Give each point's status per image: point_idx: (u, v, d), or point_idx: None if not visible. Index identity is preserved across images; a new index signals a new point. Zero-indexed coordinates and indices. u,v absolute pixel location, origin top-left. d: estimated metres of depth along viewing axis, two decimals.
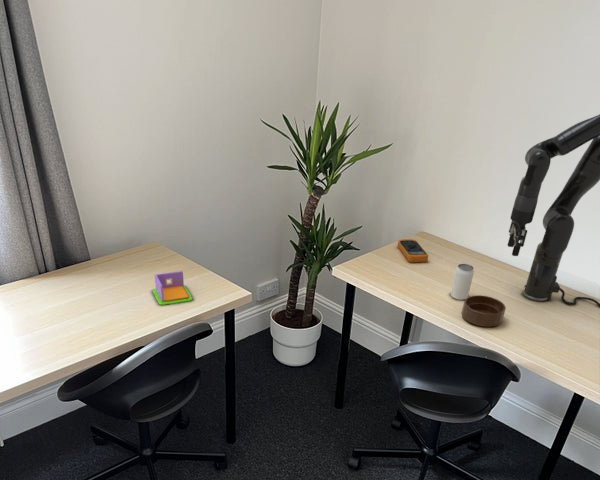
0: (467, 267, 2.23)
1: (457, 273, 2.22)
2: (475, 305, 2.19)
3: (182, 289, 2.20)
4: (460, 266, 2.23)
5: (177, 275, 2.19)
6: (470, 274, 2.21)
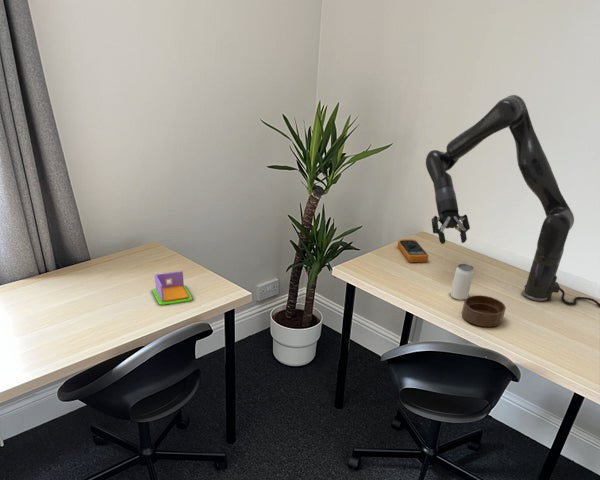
0: (467, 267, 2.23)
1: (457, 273, 2.22)
2: (475, 305, 2.19)
3: (182, 289, 2.20)
4: (460, 266, 2.23)
5: (177, 275, 2.19)
6: (470, 274, 2.21)
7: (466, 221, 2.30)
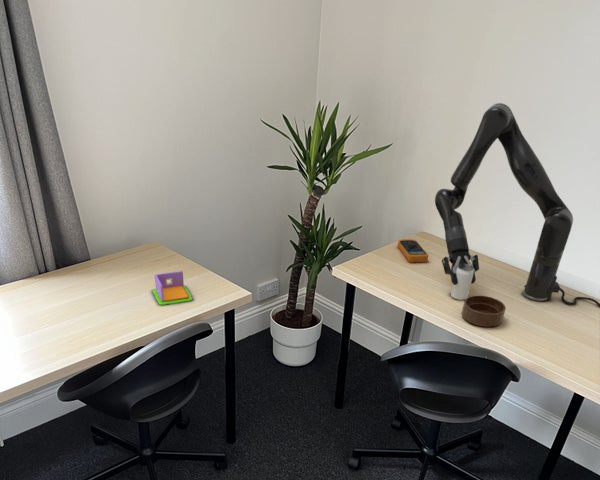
0: (467, 267, 2.23)
1: (457, 273, 2.22)
2: (475, 305, 2.19)
3: (182, 289, 2.20)
4: (460, 266, 2.23)
5: (177, 275, 2.19)
6: (470, 274, 2.21)
7: (476, 261, 2.26)
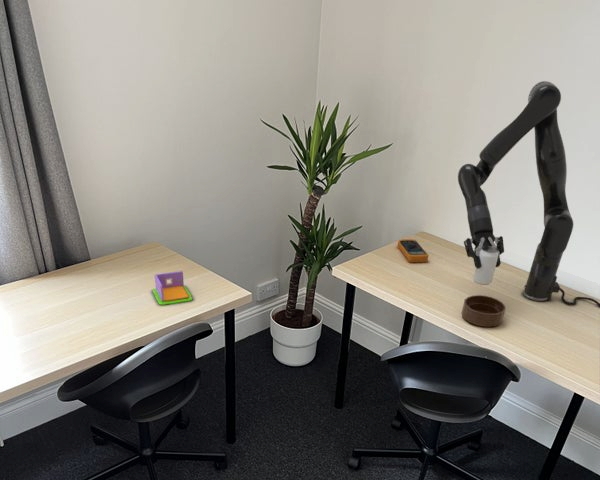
0: (491, 249, 2.06)
1: (481, 256, 2.06)
2: (475, 305, 2.19)
3: (182, 289, 2.20)
4: (484, 248, 2.07)
5: (177, 275, 2.20)
6: (495, 256, 2.05)
7: (501, 243, 2.09)
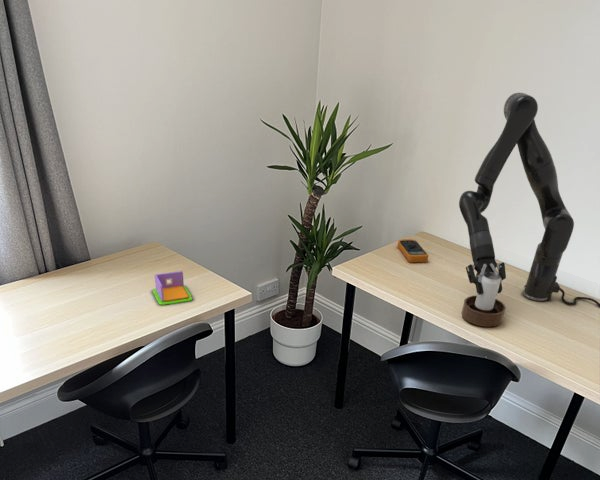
0: (493, 276, 2.07)
1: (483, 282, 2.07)
2: None
3: (182, 289, 2.20)
4: (486, 275, 2.08)
5: (177, 275, 2.19)
6: (497, 283, 2.06)
7: (503, 270, 2.10)
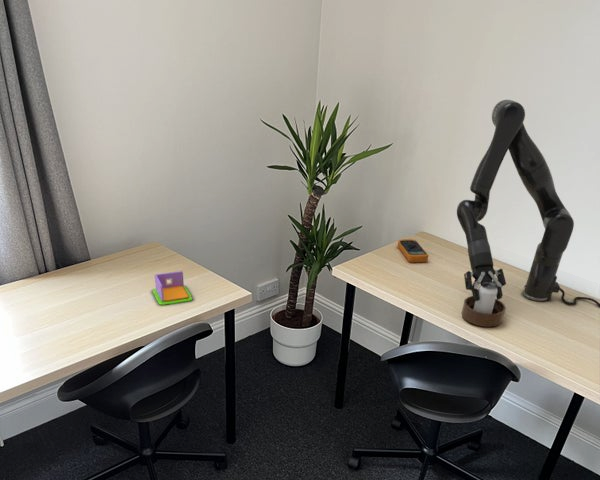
0: (491, 286, 2.09)
1: (480, 292, 2.09)
2: None
3: (182, 289, 2.20)
4: (483, 284, 2.10)
5: (177, 275, 2.19)
6: (494, 293, 2.08)
7: (502, 276, 2.12)
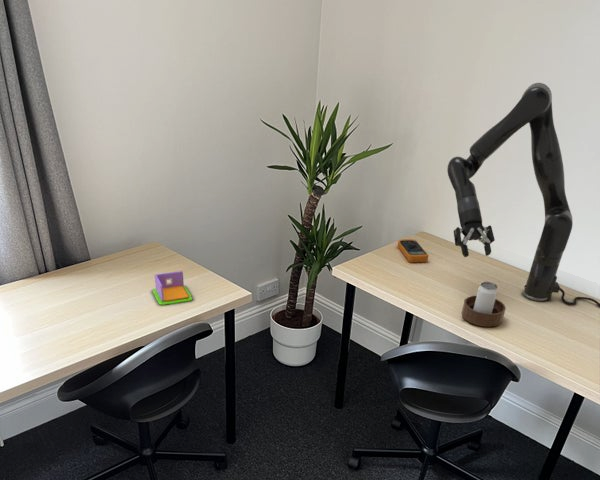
0: (491, 286, 2.09)
1: (480, 292, 2.09)
2: None
3: (182, 289, 2.20)
4: (483, 284, 2.10)
5: (177, 275, 2.20)
6: (494, 293, 2.08)
7: (490, 232, 2.15)
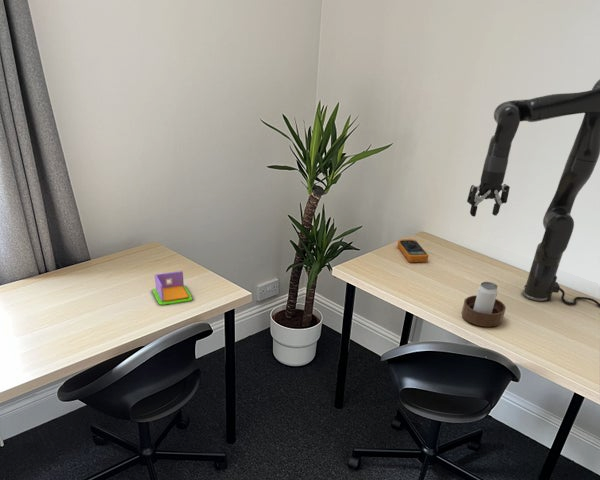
0: (491, 286, 2.09)
1: (480, 292, 2.09)
2: None
3: (182, 289, 2.20)
4: (483, 284, 2.10)
5: (177, 275, 2.20)
6: (494, 293, 2.08)
7: (506, 194, 2.11)
